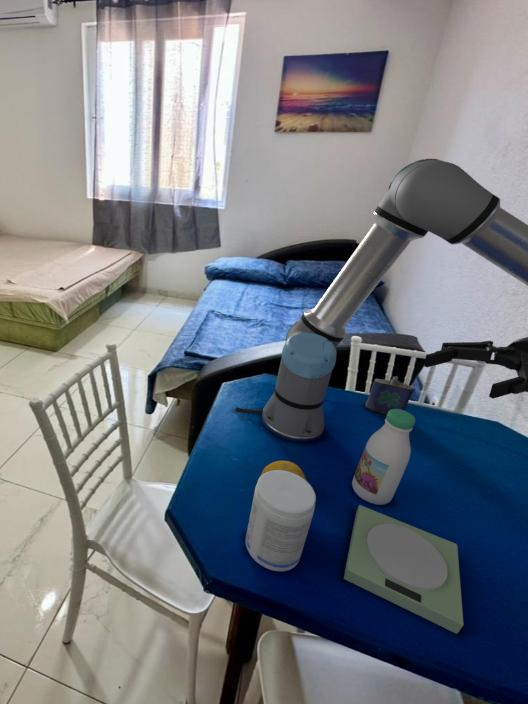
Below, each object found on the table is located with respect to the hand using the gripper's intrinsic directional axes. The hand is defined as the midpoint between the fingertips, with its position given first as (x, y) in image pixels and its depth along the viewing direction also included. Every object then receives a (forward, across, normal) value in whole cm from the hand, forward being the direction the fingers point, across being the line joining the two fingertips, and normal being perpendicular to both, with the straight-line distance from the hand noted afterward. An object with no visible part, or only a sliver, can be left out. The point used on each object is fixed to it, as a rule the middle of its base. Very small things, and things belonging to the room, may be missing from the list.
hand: (456, 375), depth 79 cm
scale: (+25, -16, -24) cm, 38 cm away
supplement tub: (+45, -7, -21) cm, 50 cm away
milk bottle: (+17, -1, -24) cm, 29 cm away
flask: (-8, +22, -24) cm, 34 cm away
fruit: (+36, +3, -21) cm, 42 cm away
